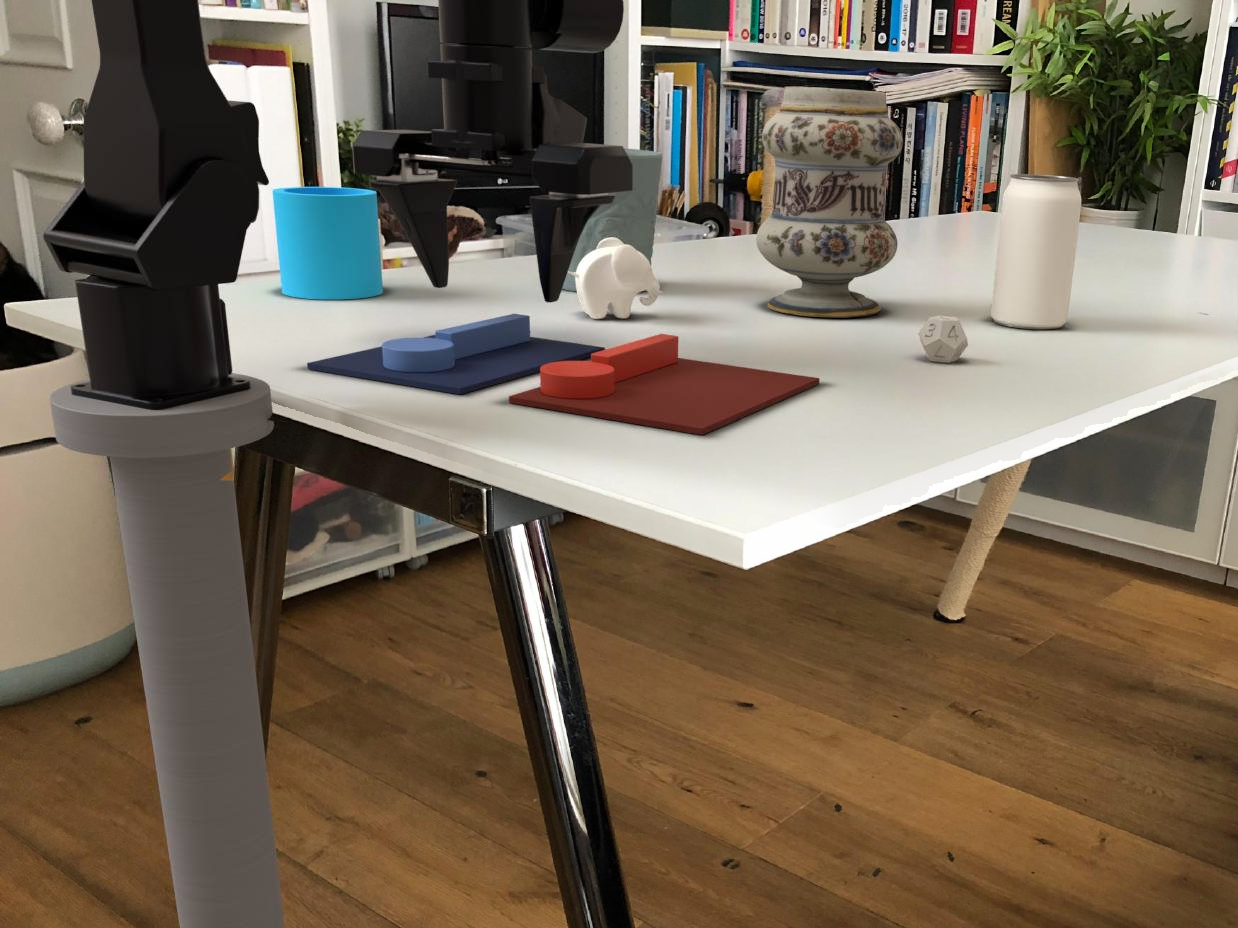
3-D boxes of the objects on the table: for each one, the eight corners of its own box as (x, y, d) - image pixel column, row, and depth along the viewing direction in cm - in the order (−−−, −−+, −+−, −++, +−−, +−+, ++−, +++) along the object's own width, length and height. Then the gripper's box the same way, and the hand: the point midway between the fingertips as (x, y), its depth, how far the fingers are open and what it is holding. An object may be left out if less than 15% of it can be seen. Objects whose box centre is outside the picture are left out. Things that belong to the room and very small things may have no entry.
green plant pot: (546, 277, 124) (543, 144, 119) (652, 278, 126) (653, 147, 122) (554, 294, 115) (551, 150, 110) (668, 295, 117) (670, 154, 113)
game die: (951, 354, 98) (955, 313, 96) (974, 364, 94) (979, 322, 93) (908, 355, 96) (912, 314, 95) (930, 365, 93) (934, 323, 92)
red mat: (702, 435, 72) (702, 428, 72) (508, 402, 77) (508, 396, 77) (819, 384, 86) (819, 378, 86) (648, 359, 91) (648, 353, 91)
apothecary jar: (885, 301, 120) (900, 91, 113) (899, 323, 109) (916, 92, 102) (753, 295, 120) (761, 84, 113) (754, 317, 108) (762, 85, 102)
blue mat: (460, 394, 78) (460, 388, 78) (307, 369, 83) (306, 363, 83) (605, 353, 92) (605, 347, 92) (466, 333, 97) (466, 327, 96)
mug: (391, 298, 109) (385, 196, 106) (287, 300, 106) (278, 195, 103) (367, 277, 119) (360, 183, 116) (271, 279, 116) (262, 182, 113)
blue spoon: (424, 376, 81) (422, 347, 80) (368, 367, 82) (366, 338, 82) (548, 343, 92) (548, 318, 92) (497, 336, 94) (496, 311, 93)
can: (1072, 332, 109) (1091, 181, 105) (995, 328, 109) (1011, 177, 105) (1059, 319, 115) (1076, 176, 111) (985, 315, 115) (999, 172, 111)
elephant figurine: (672, 323, 104) (673, 246, 102) (572, 324, 102) (571, 246, 99) (651, 308, 110) (651, 236, 108) (556, 309, 108) (555, 235, 105)
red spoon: (588, 403, 76) (588, 372, 76) (525, 392, 78) (524, 362, 77) (698, 365, 88) (698, 338, 87) (641, 357, 89) (641, 330, 89)
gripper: (676, 57, 87) (673, 295, 92) (449, 47, 94) (459, 269, 100) (583, 50, 77) (586, 316, 83) (338, 39, 84) (356, 285, 90)
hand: (495, 294), depth 89 cm, fingers open, 9 cm apart
